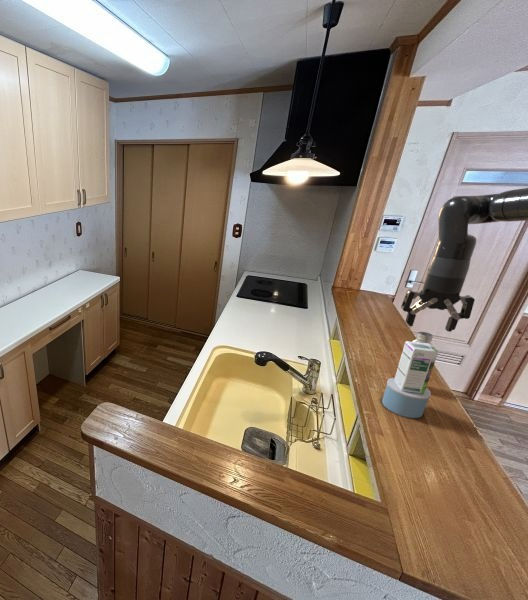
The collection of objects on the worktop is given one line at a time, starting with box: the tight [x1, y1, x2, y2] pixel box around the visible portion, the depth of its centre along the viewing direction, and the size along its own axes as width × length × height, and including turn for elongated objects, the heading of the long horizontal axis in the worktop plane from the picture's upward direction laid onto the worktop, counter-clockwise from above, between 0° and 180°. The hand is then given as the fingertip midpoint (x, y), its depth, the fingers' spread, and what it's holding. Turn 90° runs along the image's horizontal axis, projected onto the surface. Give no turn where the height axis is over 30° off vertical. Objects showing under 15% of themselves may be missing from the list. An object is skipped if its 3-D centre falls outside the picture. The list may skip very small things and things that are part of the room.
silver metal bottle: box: [411, 331, 434, 346], centre depth 109 cm, size 6×7×20 cm
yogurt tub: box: [381, 377, 432, 419], centre depth 100 cm, size 10×10×8 cm
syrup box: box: [394, 340, 439, 394], centre depth 97 cm, size 6×6×14 cm
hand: (428, 327), depth 92 cm, fingers open, 8 cm apart
